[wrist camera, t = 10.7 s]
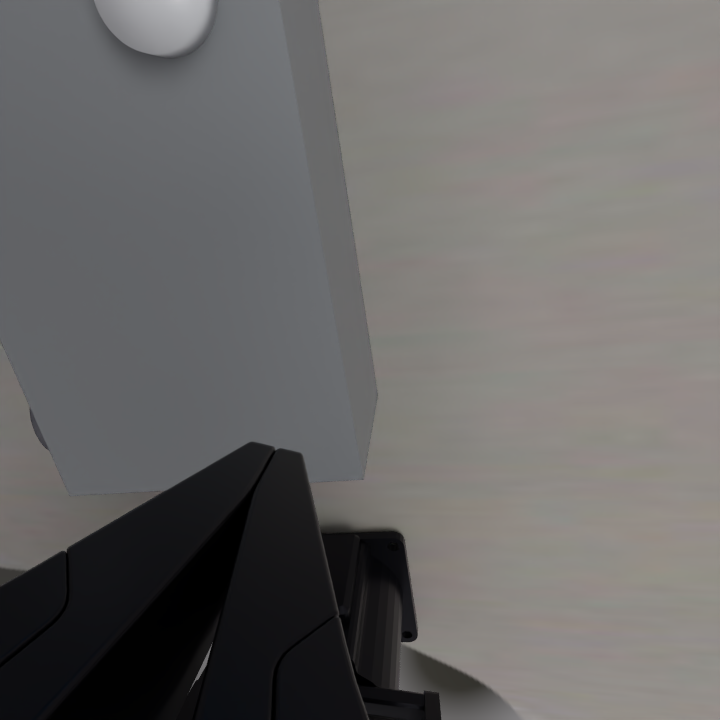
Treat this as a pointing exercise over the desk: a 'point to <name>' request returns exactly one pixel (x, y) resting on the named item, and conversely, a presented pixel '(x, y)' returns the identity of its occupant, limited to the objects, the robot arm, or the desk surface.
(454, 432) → the desk surface
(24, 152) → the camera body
